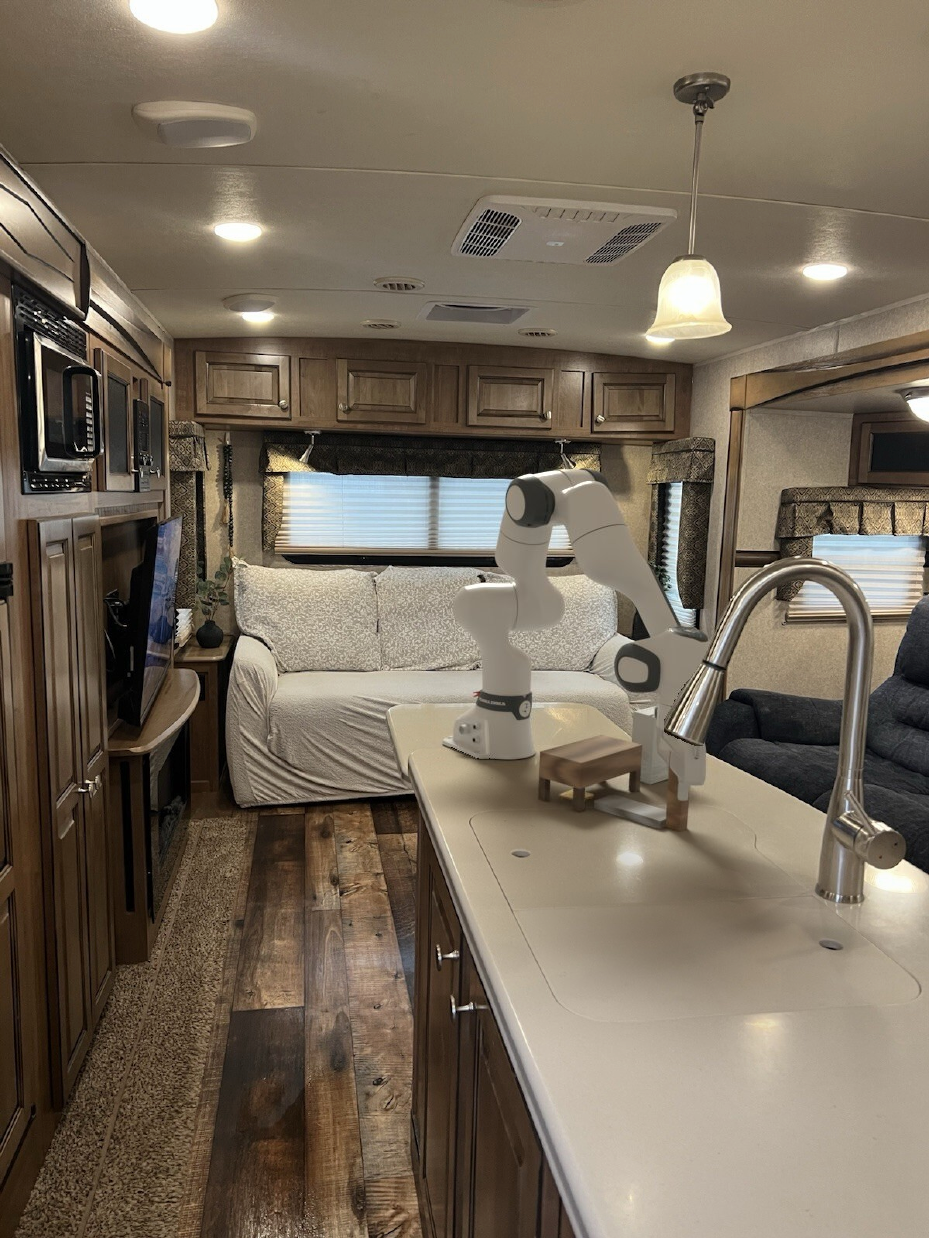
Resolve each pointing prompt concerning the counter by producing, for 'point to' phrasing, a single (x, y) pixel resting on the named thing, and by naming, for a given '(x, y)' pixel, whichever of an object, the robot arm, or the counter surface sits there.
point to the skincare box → (648, 746)
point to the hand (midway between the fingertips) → (678, 794)
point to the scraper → (650, 808)
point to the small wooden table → (589, 766)
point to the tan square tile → (569, 795)
